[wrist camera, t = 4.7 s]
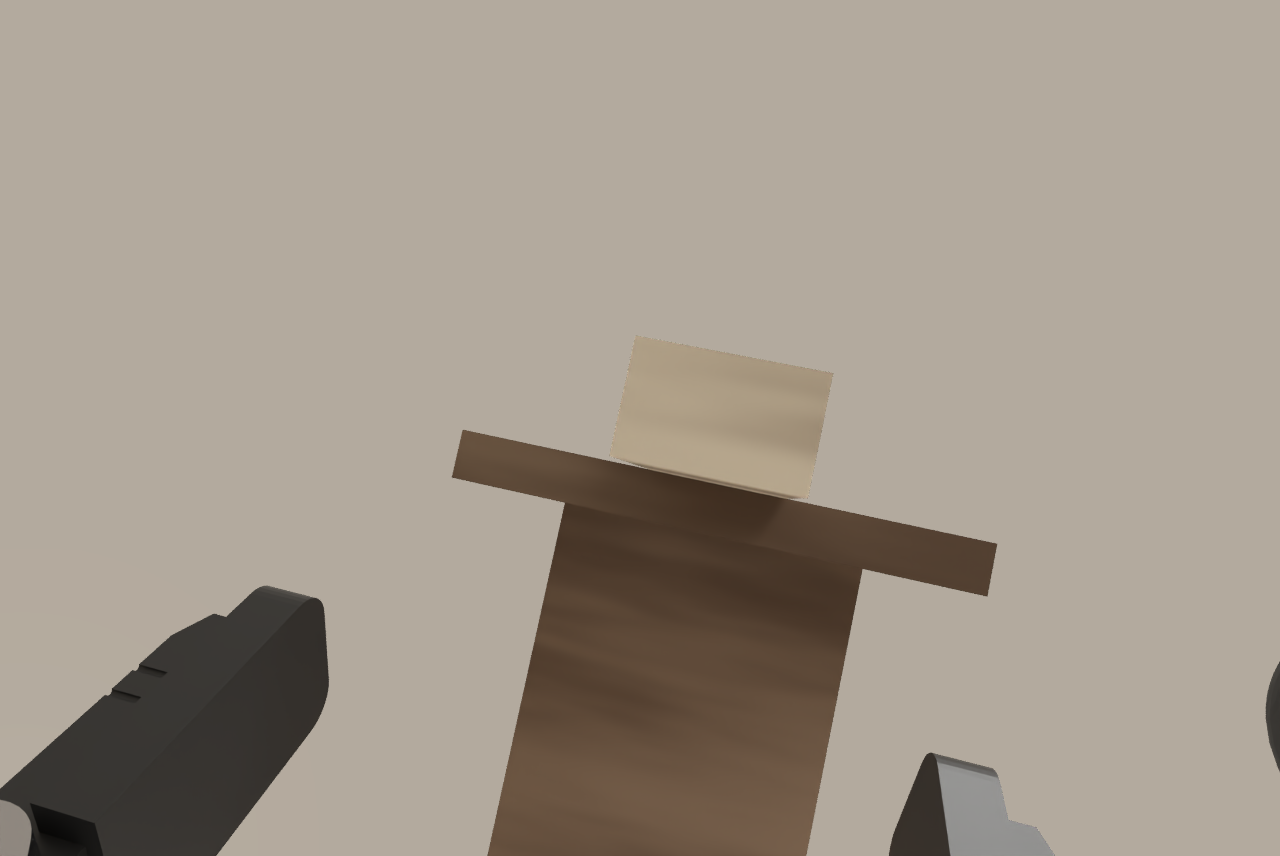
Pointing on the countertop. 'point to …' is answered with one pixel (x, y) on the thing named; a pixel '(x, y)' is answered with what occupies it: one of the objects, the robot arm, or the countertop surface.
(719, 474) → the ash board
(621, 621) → the walnut stand
